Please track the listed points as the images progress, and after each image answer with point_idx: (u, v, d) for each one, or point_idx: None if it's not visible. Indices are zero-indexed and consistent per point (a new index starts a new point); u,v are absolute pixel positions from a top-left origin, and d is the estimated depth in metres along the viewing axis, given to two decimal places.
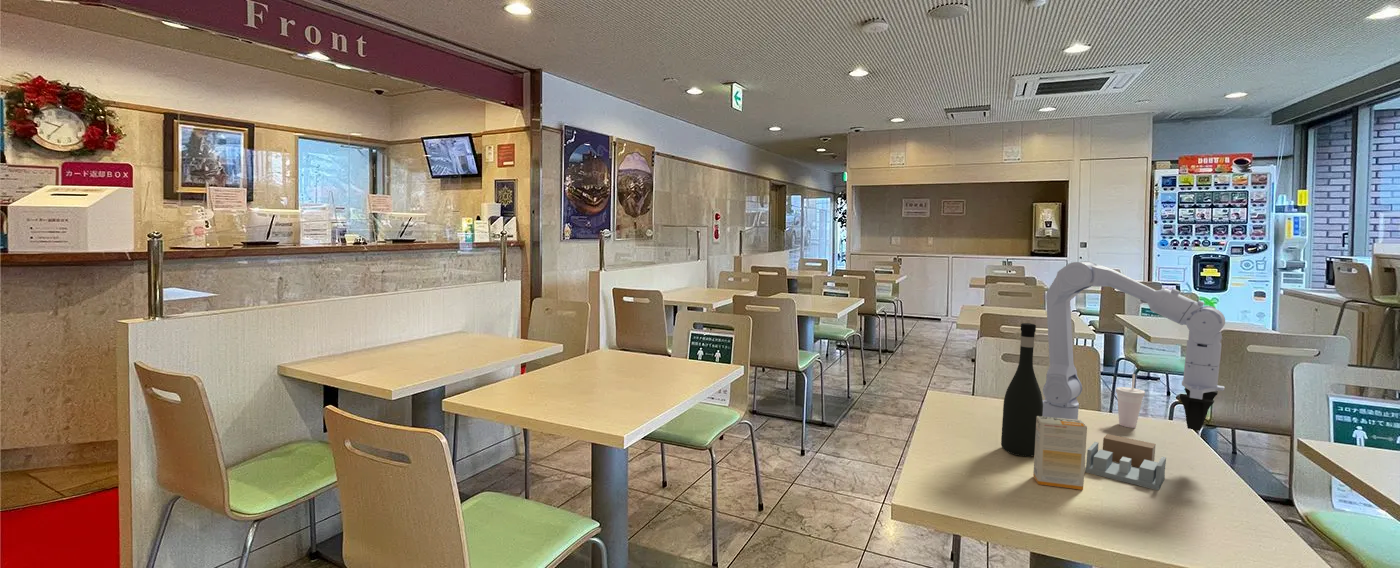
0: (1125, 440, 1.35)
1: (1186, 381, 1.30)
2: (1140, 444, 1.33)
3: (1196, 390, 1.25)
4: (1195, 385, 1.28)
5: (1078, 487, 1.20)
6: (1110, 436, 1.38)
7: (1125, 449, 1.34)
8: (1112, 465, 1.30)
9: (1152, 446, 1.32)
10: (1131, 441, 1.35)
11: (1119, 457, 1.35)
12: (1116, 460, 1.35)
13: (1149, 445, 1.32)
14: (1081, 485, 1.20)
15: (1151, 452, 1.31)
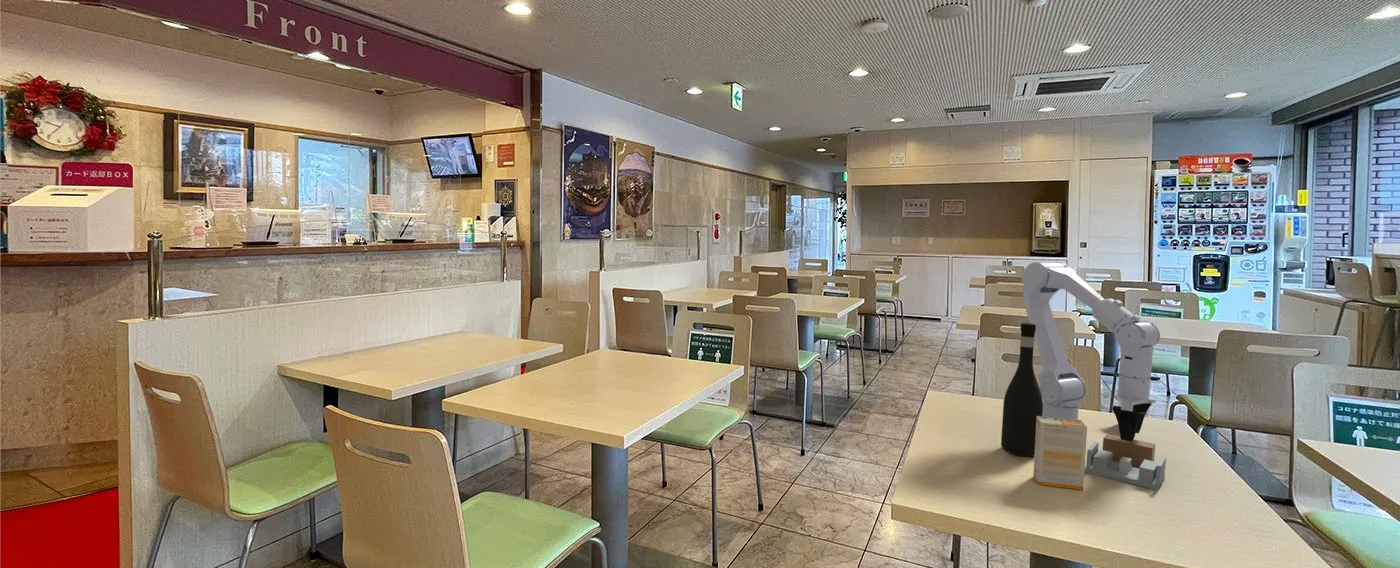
0: (1125, 440, 1.35)
1: (1120, 393, 1.34)
2: (1140, 444, 1.33)
3: (1126, 402, 1.29)
4: (1127, 397, 1.32)
5: (1078, 487, 1.20)
6: (1110, 436, 1.38)
7: (1125, 449, 1.34)
8: (1112, 465, 1.30)
9: (1152, 446, 1.32)
10: None
11: (1119, 457, 1.35)
12: (1116, 460, 1.35)
13: (1149, 445, 1.32)
14: (1081, 485, 1.20)
15: (1151, 452, 1.31)
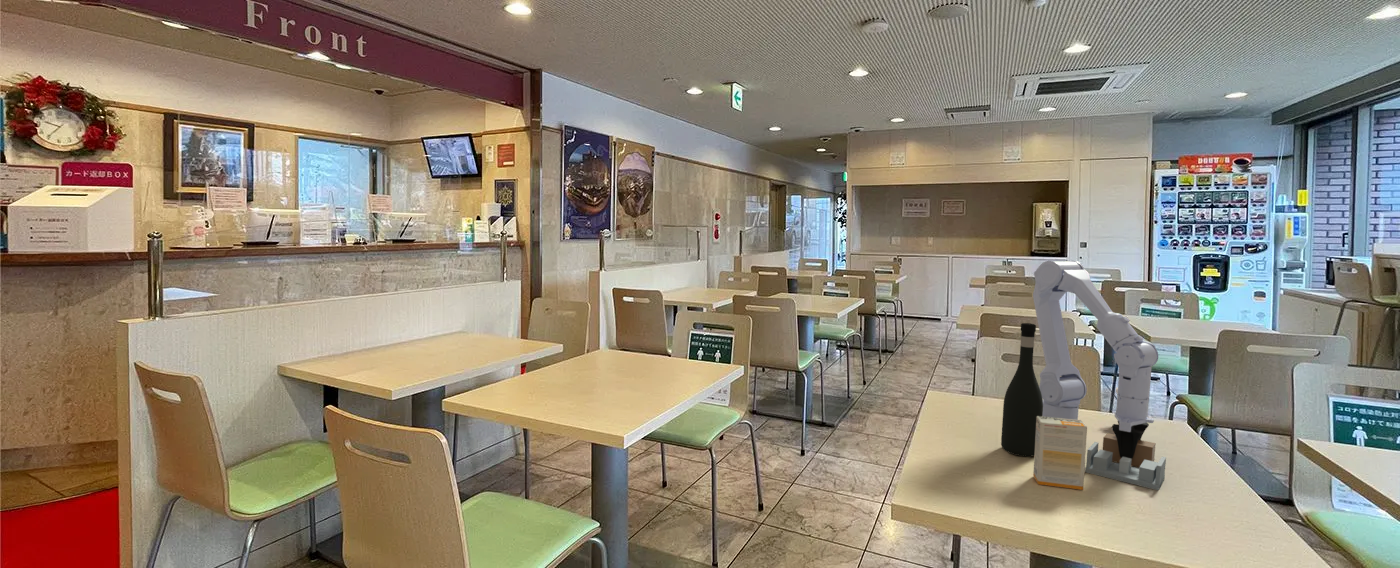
0: None
1: (1118, 413, 1.35)
2: (1140, 443, 1.33)
3: (1125, 423, 1.29)
4: (1126, 417, 1.33)
5: (1078, 487, 1.20)
6: (1110, 435, 1.38)
7: None
8: (1112, 465, 1.30)
9: (1152, 445, 1.32)
10: None
11: (1119, 456, 1.35)
12: (1116, 459, 1.35)
13: (1149, 445, 1.32)
14: (1081, 485, 1.20)
15: (1151, 451, 1.31)
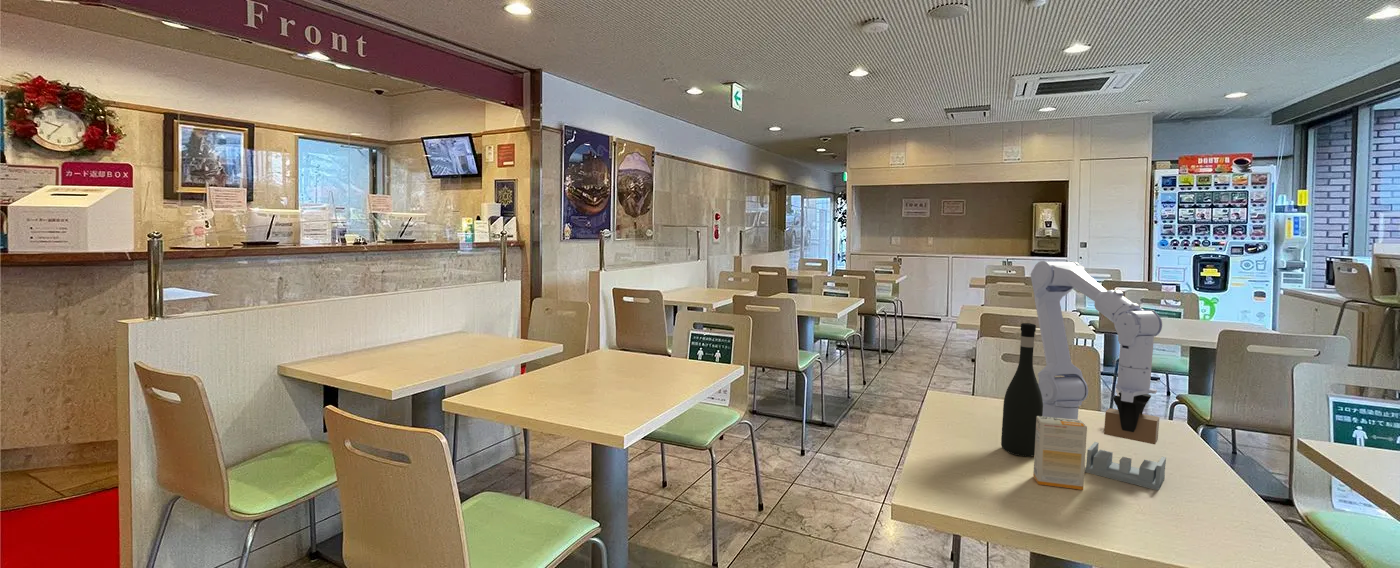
0: None
1: (1119, 384, 1.30)
2: (1144, 417, 1.28)
3: (1127, 393, 1.24)
4: (1127, 388, 1.28)
5: (1078, 487, 1.20)
6: (1112, 410, 1.33)
7: None
8: (1112, 465, 1.30)
9: (1156, 419, 1.27)
10: None
11: (1122, 431, 1.30)
12: (1119, 434, 1.30)
13: (1153, 418, 1.27)
14: (1081, 485, 1.20)
15: (1155, 425, 1.26)
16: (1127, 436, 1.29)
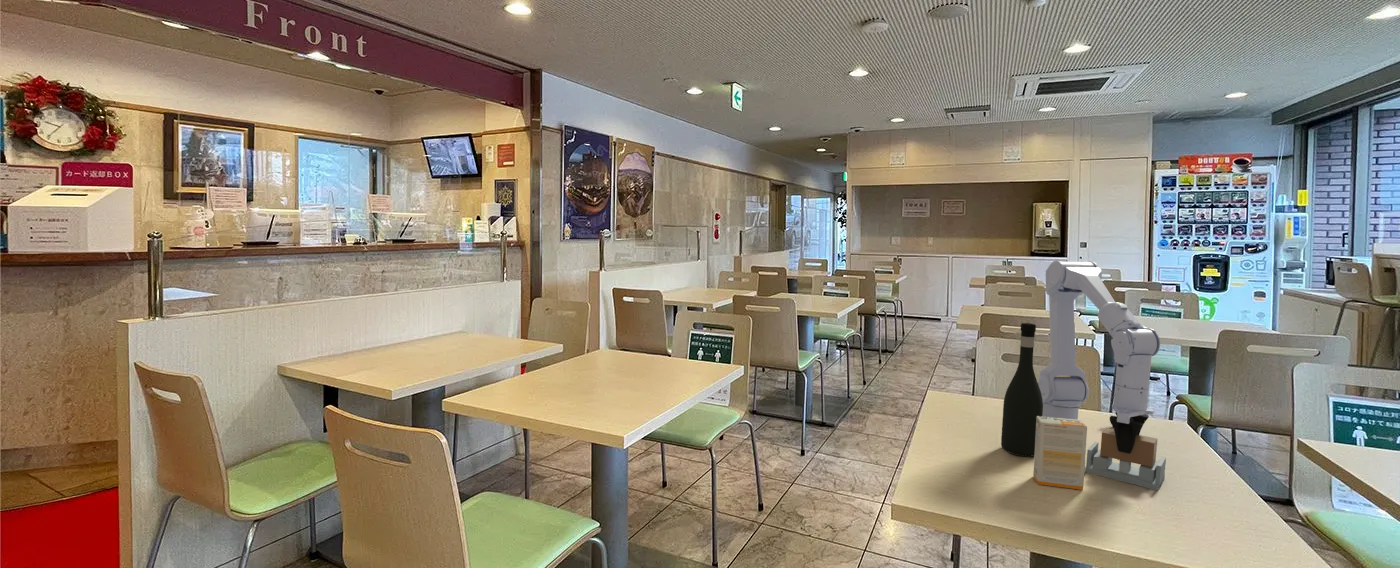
0: None
1: (1116, 404, 1.26)
2: (1141, 439, 1.24)
3: (1123, 414, 1.21)
4: (1124, 408, 1.25)
5: (1078, 487, 1.20)
6: (1109, 430, 1.29)
7: None
8: (1112, 465, 1.30)
9: (1154, 441, 1.23)
10: None
11: (1118, 453, 1.26)
12: (1115, 456, 1.27)
13: (1150, 440, 1.24)
14: (1081, 485, 1.20)
15: (1153, 447, 1.22)
16: (1124, 458, 1.26)
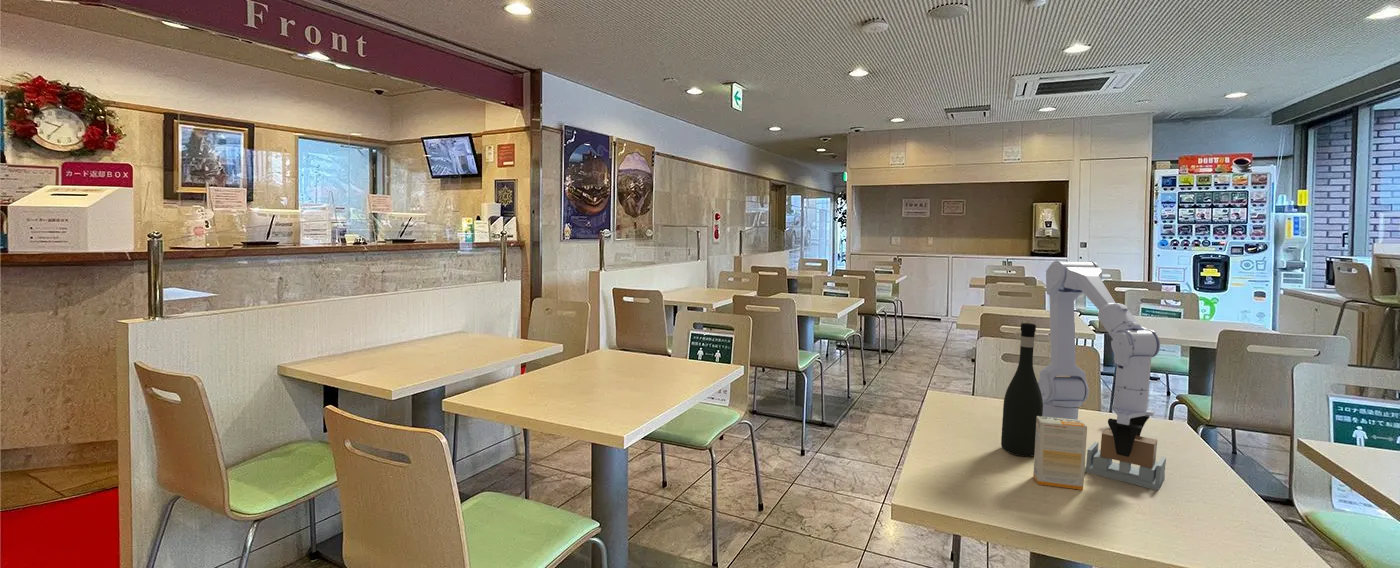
0: None
1: (1116, 405, 1.26)
2: (1141, 440, 1.24)
3: (1123, 415, 1.21)
4: (1124, 410, 1.25)
5: (1078, 487, 1.20)
6: (1109, 431, 1.29)
7: None
8: (1112, 465, 1.30)
9: (1154, 442, 1.23)
10: None
11: None
12: (1115, 457, 1.27)
13: (1150, 441, 1.24)
14: (1081, 485, 1.20)
15: (1153, 448, 1.22)
16: (1124, 459, 1.26)
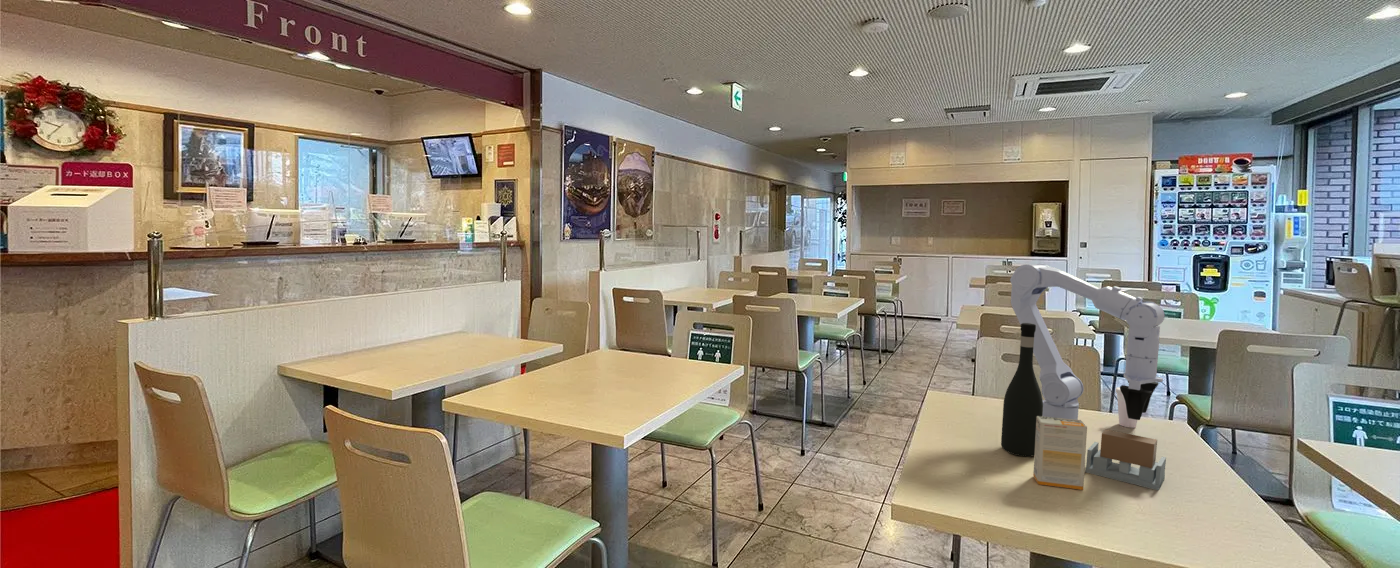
0: (1125, 436, 1.27)
1: (1127, 373, 1.36)
2: (1141, 440, 1.24)
3: (1134, 381, 1.31)
4: (1135, 377, 1.35)
5: (1078, 487, 1.20)
6: (1109, 431, 1.29)
7: (1125, 445, 1.25)
8: (1112, 465, 1.30)
9: (1154, 442, 1.23)
10: (1131, 437, 1.26)
11: (1118, 454, 1.26)
12: (1115, 457, 1.27)
13: (1150, 441, 1.24)
14: (1081, 485, 1.20)
15: (1153, 448, 1.22)
16: (1124, 459, 1.26)
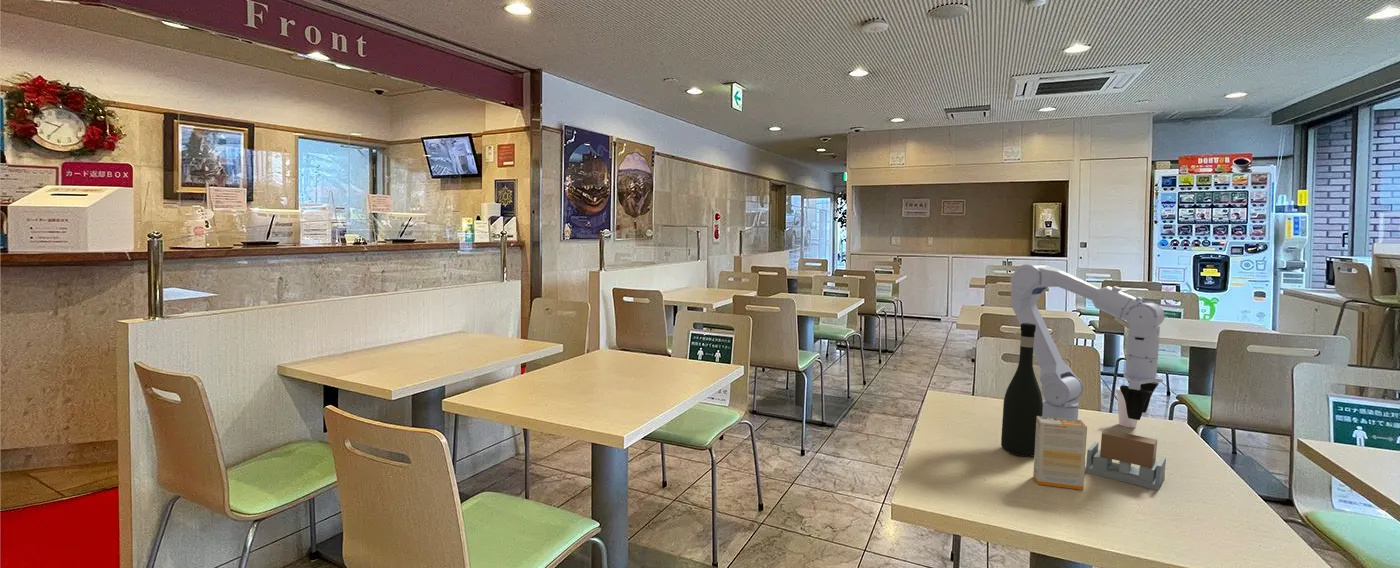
0: (1125, 436, 1.27)
1: (1127, 373, 1.36)
2: (1141, 440, 1.24)
3: (1134, 381, 1.31)
4: (1135, 377, 1.35)
5: (1078, 487, 1.20)
6: (1109, 431, 1.29)
7: (1125, 445, 1.25)
8: (1112, 465, 1.30)
9: (1154, 442, 1.23)
10: (1131, 437, 1.26)
11: (1118, 454, 1.26)
12: (1115, 457, 1.27)
13: (1150, 441, 1.24)
14: (1081, 485, 1.20)
15: (1153, 448, 1.22)
16: (1124, 459, 1.26)
